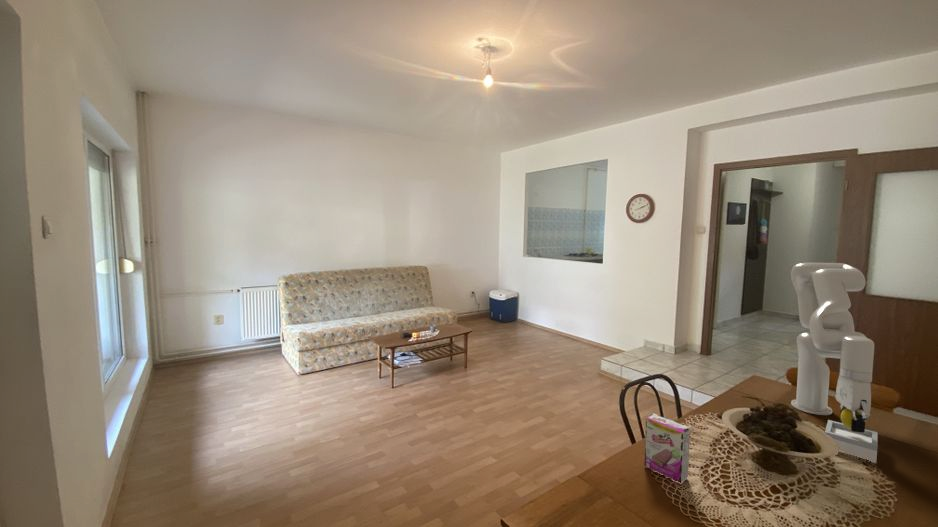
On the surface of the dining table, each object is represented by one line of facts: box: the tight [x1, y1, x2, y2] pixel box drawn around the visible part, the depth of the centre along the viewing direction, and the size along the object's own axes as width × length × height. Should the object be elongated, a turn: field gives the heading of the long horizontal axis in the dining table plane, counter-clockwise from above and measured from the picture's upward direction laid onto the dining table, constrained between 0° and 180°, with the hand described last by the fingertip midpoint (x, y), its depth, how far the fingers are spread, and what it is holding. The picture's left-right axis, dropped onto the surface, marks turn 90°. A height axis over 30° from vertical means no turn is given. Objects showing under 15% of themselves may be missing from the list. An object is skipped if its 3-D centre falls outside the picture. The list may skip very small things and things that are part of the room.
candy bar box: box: [643, 413, 691, 483], centre depth 114 cm, size 11×5×16 cm, turn 37°
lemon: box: [840, 408, 861, 430], centre depth 127 cm, size 6×6×8 cm
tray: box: [824, 419, 879, 464], centre depth 127 cm, size 12×12×6 cm
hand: (851, 426), depth 127 cm, fingers closed on lemon, 5 cm apart
